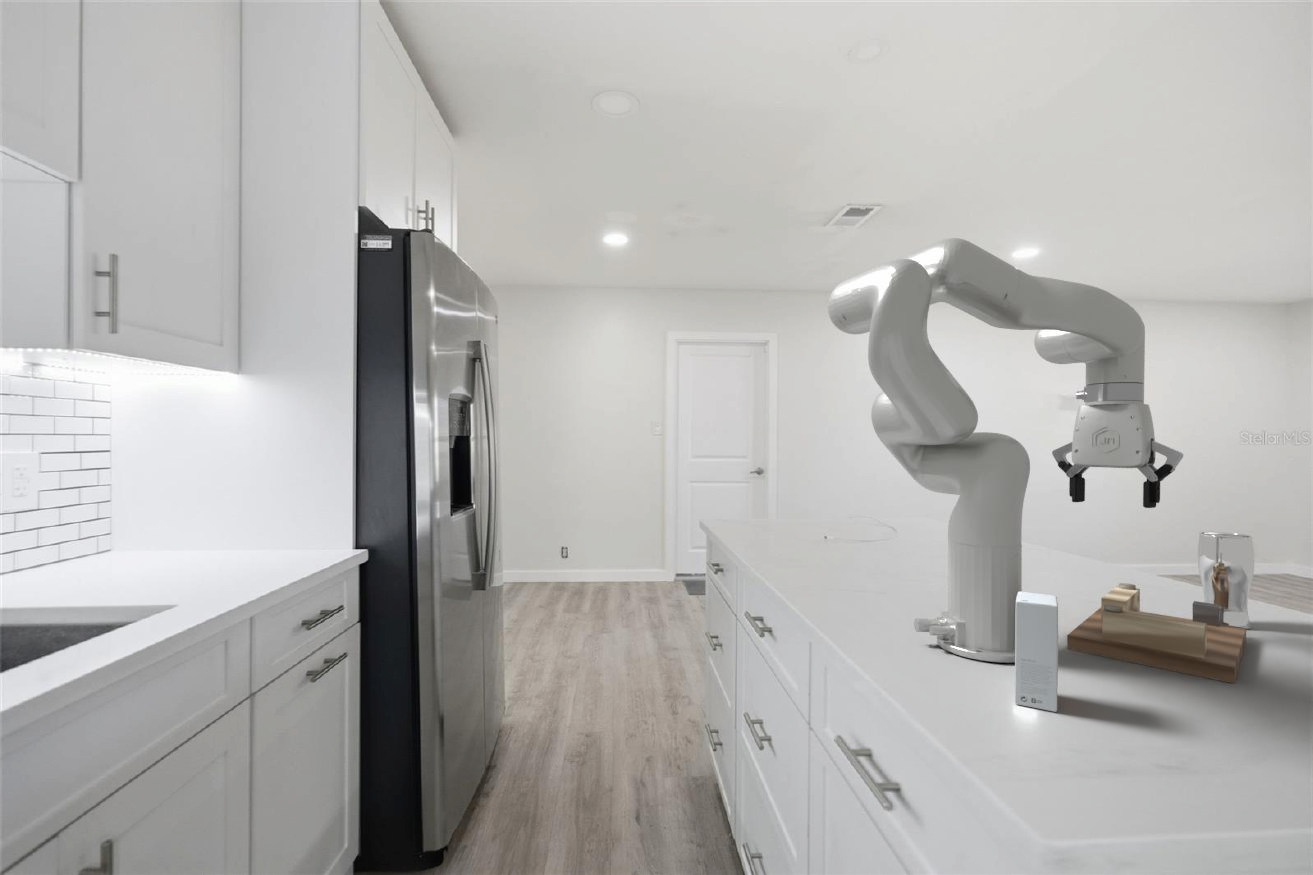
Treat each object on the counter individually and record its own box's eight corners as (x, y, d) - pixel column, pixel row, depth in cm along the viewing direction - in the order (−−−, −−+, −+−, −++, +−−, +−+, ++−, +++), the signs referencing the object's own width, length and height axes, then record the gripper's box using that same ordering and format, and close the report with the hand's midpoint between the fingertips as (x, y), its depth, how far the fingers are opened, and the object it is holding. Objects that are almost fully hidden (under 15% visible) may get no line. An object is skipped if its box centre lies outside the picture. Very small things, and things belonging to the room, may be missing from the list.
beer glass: (1265, 632, 99) (1265, 538, 100) (1215, 629, 101) (1215, 536, 101) (1234, 619, 106) (1234, 532, 106) (1188, 617, 108) (1187, 530, 108)
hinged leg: (1117, 609, 104) (1117, 582, 104) (1139, 613, 102) (1139, 585, 102) (1101, 624, 96) (1101, 594, 96) (1125, 628, 93) (1125, 597, 93)
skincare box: (1058, 713, 69) (1058, 606, 69) (1014, 705, 72) (1014, 600, 72) (1057, 695, 74) (1057, 595, 75) (1016, 687, 77) (1016, 590, 77)
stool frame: (1234, 683, 78) (1234, 630, 78) (1067, 648, 91) (1067, 603, 91) (1246, 641, 95) (1245, 597, 95) (1103, 617, 108) (1103, 578, 108)
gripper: (1044, 398, 104) (1042, 500, 103) (1174, 392, 89) (1172, 511, 89) (1064, 400, 108) (1062, 499, 108) (1191, 395, 94) (1190, 509, 93)
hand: (1112, 504), depth 98 cm, fingers open, 9 cm apart
